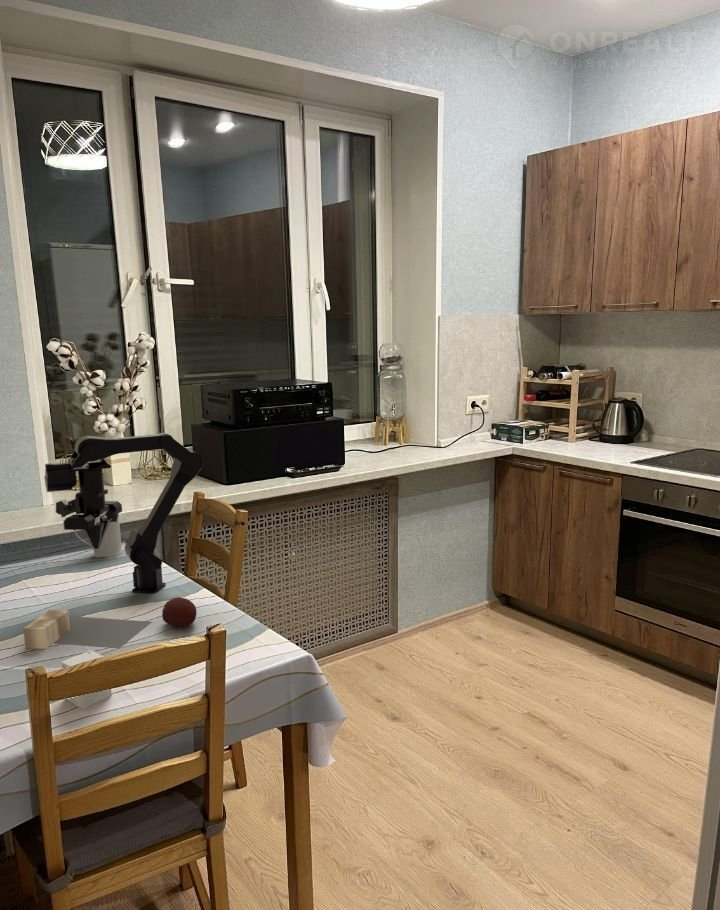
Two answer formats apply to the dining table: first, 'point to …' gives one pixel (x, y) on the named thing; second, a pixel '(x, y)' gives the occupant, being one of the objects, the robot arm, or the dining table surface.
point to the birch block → (46, 629)
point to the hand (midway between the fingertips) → (96, 548)
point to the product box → (89, 698)
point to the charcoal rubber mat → (101, 631)
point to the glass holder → (109, 538)
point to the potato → (179, 612)
